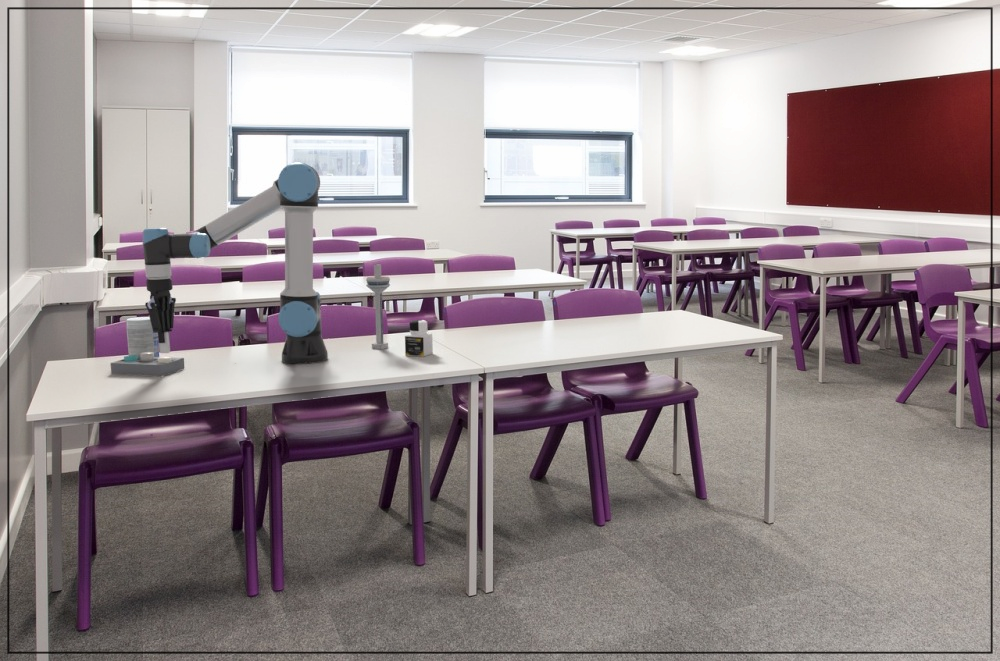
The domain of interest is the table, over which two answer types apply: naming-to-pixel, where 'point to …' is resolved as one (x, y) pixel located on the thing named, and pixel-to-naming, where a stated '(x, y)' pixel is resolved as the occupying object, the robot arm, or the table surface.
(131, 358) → the teal button
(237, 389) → the table surface
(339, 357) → the table surface
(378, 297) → the model tower
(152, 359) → the grey button
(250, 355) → the table surface
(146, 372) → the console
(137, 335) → the supplement tub
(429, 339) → the medicine bottle
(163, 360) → the ivory button
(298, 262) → the robot arm
